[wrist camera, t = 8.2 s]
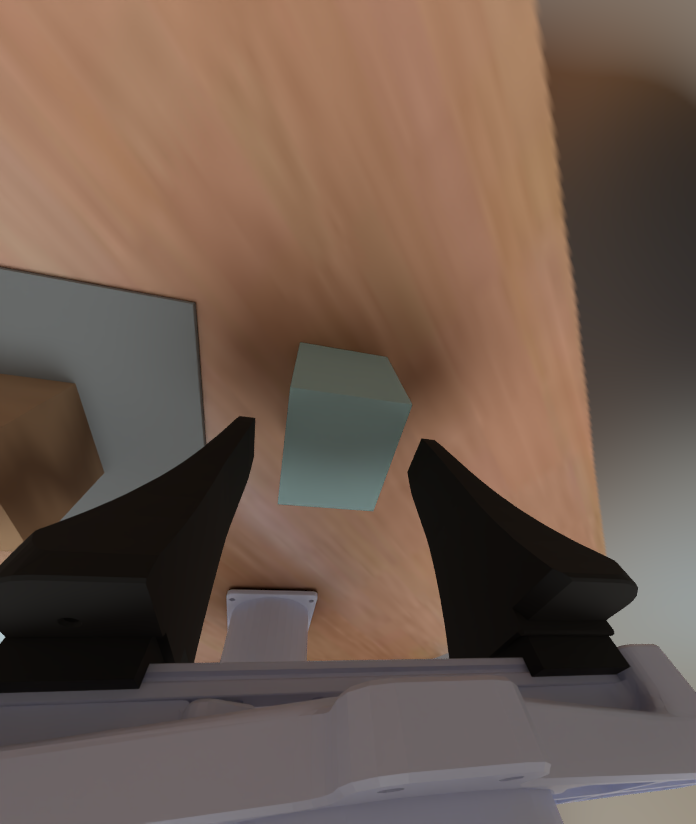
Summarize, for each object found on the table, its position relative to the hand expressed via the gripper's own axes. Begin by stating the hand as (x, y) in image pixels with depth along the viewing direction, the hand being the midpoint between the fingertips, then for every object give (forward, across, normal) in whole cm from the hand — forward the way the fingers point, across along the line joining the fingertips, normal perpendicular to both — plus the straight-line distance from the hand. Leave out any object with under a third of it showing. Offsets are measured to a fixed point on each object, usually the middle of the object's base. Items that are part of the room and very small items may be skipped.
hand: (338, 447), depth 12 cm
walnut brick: (+4, +15, +4) cm, 16 cm away
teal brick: (+4, 0, 0) cm, 4 cm away
